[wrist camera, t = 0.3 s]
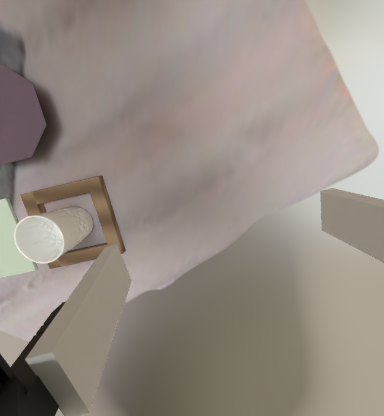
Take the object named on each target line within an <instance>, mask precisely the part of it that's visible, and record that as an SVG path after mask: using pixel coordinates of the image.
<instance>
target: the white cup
mask: <svg viewBox="0 0 384 416" xmlns="http://www.w3.org/2000/svg"><path fill="white" fill-rule="evenodd" d="M92 228H93V220H92V217H91V216H90V215H89V213H88V212H87V211H85V210H84V209H82V208H78V207H71V208H67V209H60V210H55V211H50V212H45V213H41V214H37V215H32V216H28V217H25V218H23V219H22V220H21V221H20V222H19V223H18V224H17V225H16V227H15V230H14V241H15V244H16V247H17V248H18V250H19V251H20V253H21V254H22V255H23V256H24V257H26V258H27V259H29V260H31V261H33V262H36V263H50V262H53V261H55V260H56V259H58V258H59V257H60V256H62V255H63V254H64V253H66V252H67V251H69V250H70V249H71V248H73V247H74V246H75V245H77V244H78V243H79V242H81V241H82V240H83V239H84V238H86V237H87V236H88V235H89V234H90V233H91V232H92Z"/></svg>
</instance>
